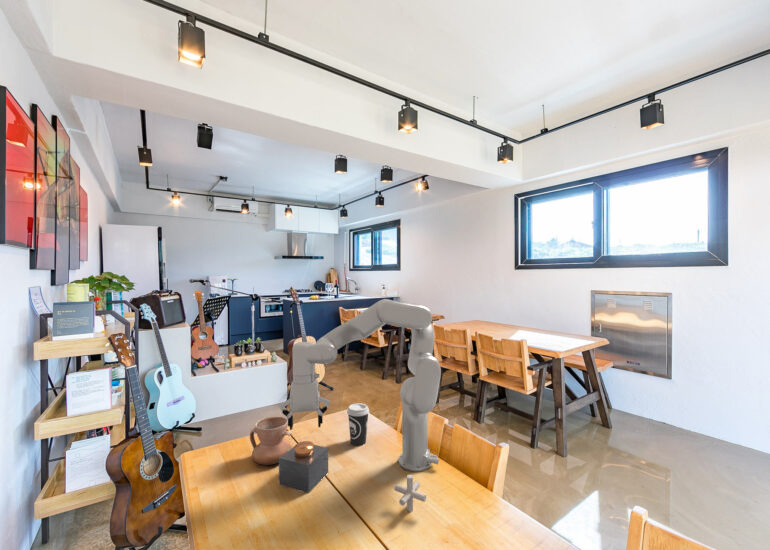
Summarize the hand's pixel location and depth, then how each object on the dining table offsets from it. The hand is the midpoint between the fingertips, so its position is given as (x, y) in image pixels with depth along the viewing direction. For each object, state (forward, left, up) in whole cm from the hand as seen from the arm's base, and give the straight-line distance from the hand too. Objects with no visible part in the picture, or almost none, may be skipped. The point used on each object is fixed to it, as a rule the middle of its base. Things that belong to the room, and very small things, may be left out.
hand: (305, 426), depth 116 cm
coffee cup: (-6, -30, -18) cm, 35 cm away
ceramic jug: (+20, -6, -18) cm, 28 cm away
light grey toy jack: (-39, +1, -18) cm, 43 cm away
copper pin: (0, 0, -17) cm, 17 cm away
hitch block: (0, 0, -18) cm, 18 cm away
